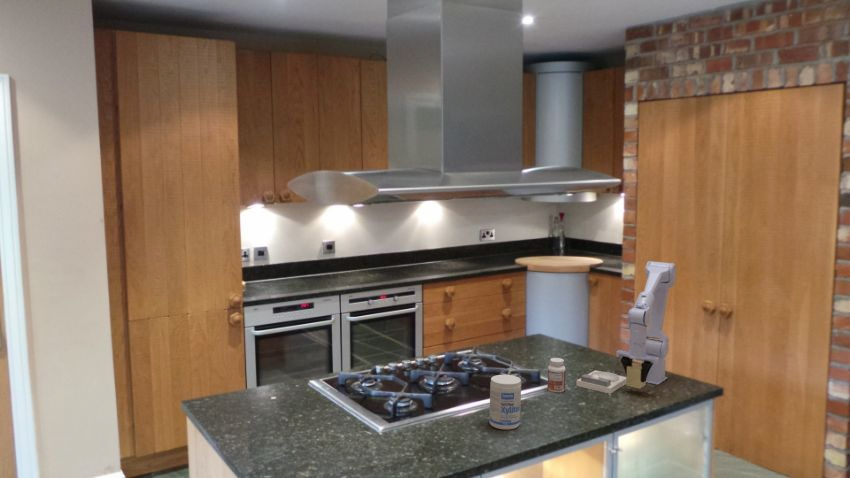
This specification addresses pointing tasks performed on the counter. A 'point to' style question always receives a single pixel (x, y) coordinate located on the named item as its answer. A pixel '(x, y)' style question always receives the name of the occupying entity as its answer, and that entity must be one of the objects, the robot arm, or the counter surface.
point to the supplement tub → (505, 401)
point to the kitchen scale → (601, 381)
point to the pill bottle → (556, 375)
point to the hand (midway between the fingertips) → (636, 379)
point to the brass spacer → (634, 376)
